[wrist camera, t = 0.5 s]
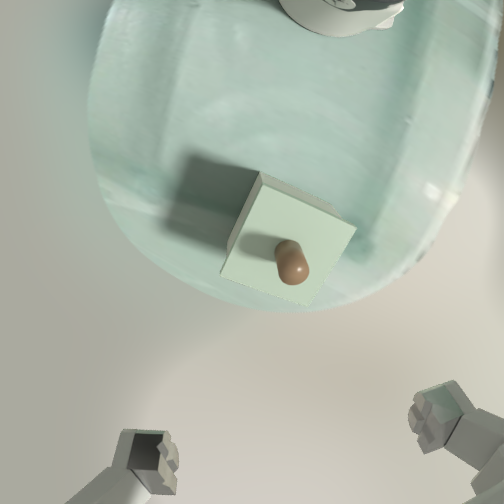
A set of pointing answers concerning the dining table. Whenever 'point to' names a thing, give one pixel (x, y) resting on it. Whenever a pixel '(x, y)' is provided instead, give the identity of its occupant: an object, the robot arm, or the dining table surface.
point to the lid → (286, 246)
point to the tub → (281, 186)
